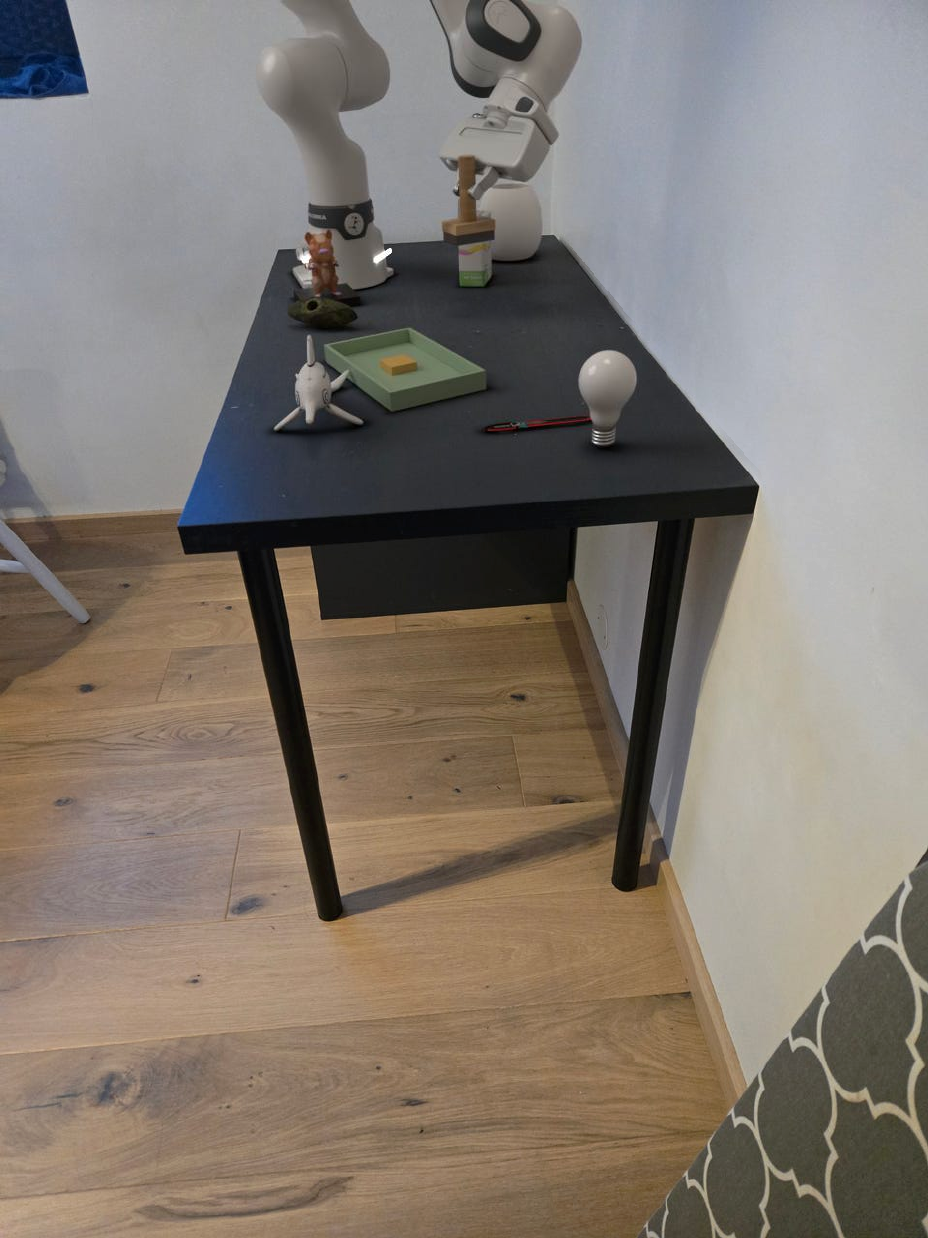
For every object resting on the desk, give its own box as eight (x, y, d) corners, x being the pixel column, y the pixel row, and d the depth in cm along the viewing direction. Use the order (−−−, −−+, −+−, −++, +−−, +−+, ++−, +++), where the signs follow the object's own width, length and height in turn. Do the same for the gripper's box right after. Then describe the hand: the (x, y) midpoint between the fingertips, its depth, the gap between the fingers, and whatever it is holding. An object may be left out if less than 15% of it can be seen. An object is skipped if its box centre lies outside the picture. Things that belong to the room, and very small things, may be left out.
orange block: (380, 367, 118) (379, 359, 117) (405, 362, 119) (404, 353, 118) (392, 375, 115) (391, 367, 114) (417, 369, 116) (417, 361, 115)
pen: (595, 422, 100) (596, 417, 100) (483, 434, 98) (483, 429, 98) (590, 416, 102) (591, 411, 101) (480, 428, 100) (480, 423, 100)
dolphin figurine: (263, 446, 93) (247, 346, 88) (287, 411, 116) (276, 330, 111) (361, 439, 93) (350, 339, 89) (365, 405, 116) (357, 325, 112)
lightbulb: (570, 436, 97) (574, 344, 91) (623, 433, 98) (630, 340, 91) (581, 460, 92) (586, 363, 86) (636, 456, 92) (645, 359, 86)
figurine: (304, 312, 143) (293, 238, 136) (294, 298, 151) (283, 227, 144) (360, 304, 146) (352, 232, 139) (347, 291, 154) (339, 221, 147)
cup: (543, 264, 165) (545, 189, 157) (478, 266, 165) (476, 192, 157) (539, 249, 176) (540, 178, 168) (478, 251, 176) (476, 181, 168)
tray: (325, 361, 122) (323, 344, 121) (411, 344, 127) (409, 327, 126) (391, 412, 106) (389, 392, 104) (486, 388, 111) (486, 370, 109)
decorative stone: (292, 337, 132) (287, 305, 129) (289, 324, 138) (284, 293, 135) (359, 330, 134) (356, 298, 131) (354, 317, 140) (350, 287, 137)
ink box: (485, 287, 152) (483, 199, 144) (458, 287, 153) (455, 199, 145) (493, 275, 159) (491, 191, 151) (468, 275, 160) (465, 191, 151)
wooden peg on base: (442, 240, 132) (438, 156, 125) (480, 234, 135) (478, 151, 128) (456, 246, 129) (453, 159, 122) (495, 239, 132) (494, 154, 125)
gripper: (458, 98, 131) (413, 174, 132) (546, 103, 118) (495, 188, 119) (480, 127, 136) (436, 201, 137) (567, 136, 123) (517, 217, 124)
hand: (464, 195), depth 128 cm, fingers closed on wooden peg on base, 2 cm apart
